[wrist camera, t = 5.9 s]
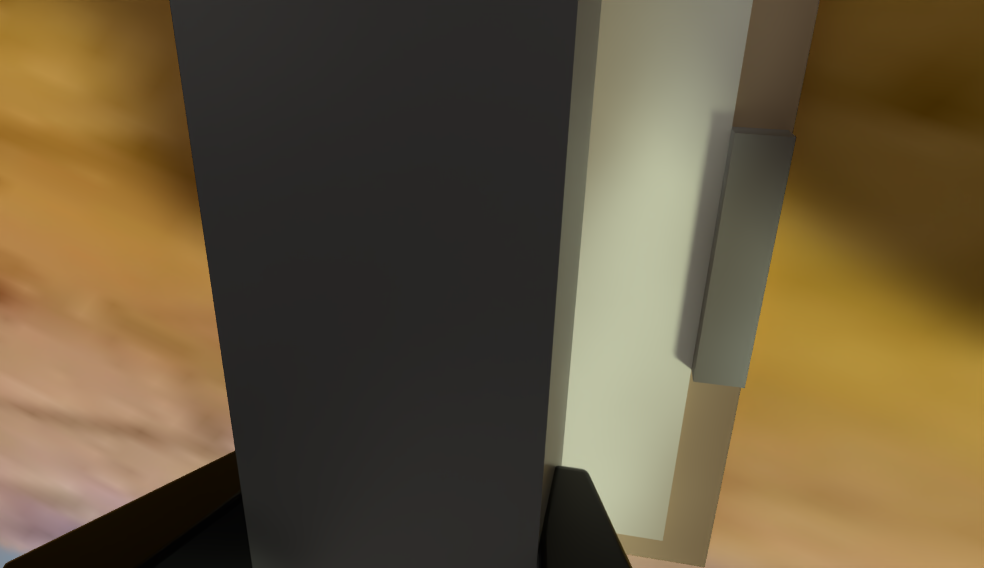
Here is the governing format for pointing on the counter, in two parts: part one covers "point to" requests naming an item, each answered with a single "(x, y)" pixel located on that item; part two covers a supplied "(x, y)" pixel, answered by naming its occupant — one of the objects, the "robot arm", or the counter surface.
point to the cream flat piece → (677, 251)
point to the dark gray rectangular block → (392, 265)
